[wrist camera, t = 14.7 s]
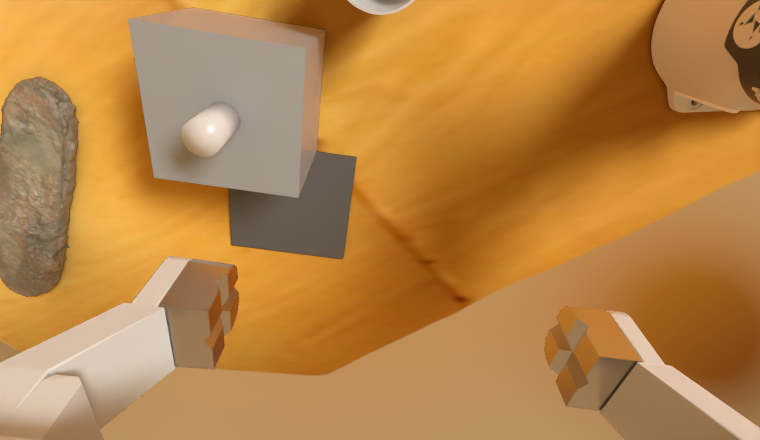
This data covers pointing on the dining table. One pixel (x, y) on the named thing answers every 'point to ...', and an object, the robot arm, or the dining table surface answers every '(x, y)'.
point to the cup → (381, 6)
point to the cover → (229, 98)
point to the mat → (299, 212)
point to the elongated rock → (36, 184)
